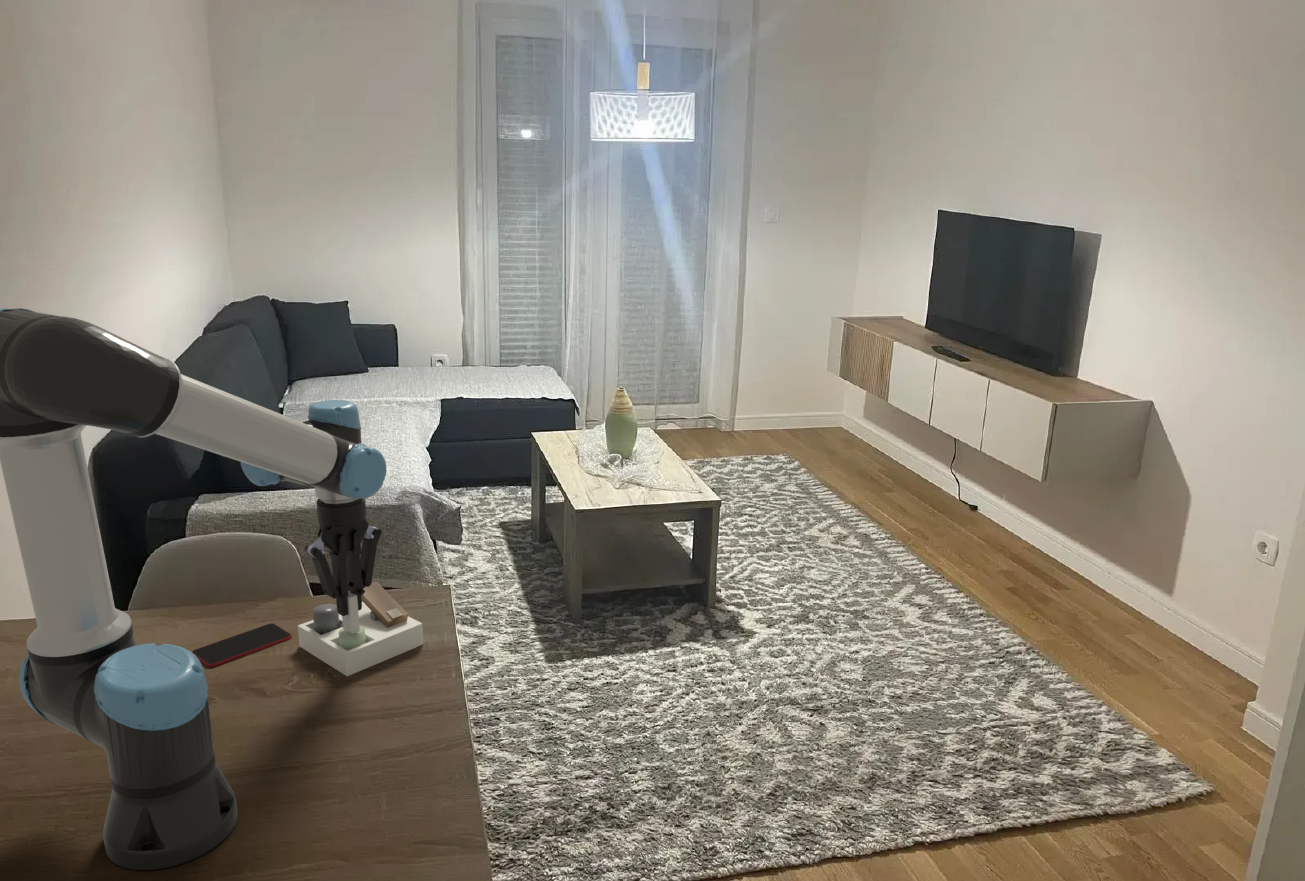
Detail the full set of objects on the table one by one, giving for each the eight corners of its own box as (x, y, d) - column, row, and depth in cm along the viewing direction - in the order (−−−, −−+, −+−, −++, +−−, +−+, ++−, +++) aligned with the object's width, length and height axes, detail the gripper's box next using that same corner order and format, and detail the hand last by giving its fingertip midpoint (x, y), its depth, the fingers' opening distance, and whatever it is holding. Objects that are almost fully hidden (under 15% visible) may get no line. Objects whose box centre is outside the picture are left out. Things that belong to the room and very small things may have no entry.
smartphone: (293, 635, 173) (209, 665, 162) (294, 639, 173) (210, 670, 163) (272, 622, 178) (189, 651, 167) (273, 626, 178) (190, 655, 167)
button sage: (349, 661, 162) (347, 640, 161) (335, 653, 165) (333, 631, 164) (371, 652, 165) (369, 631, 164) (357, 644, 168) (355, 623, 167)
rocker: (387, 627, 169) (388, 621, 168) (355, 594, 174) (356, 587, 173) (407, 620, 171) (408, 613, 171) (375, 587, 176) (376, 580, 176)
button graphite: (322, 637, 167) (320, 617, 166) (309, 630, 169) (307, 609, 168) (344, 629, 170) (343, 608, 169) (331, 621, 172) (329, 601, 171)
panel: (347, 676, 161) (344, 647, 159) (299, 646, 170) (297, 618, 169) (423, 644, 171) (421, 616, 170) (374, 617, 181) (372, 591, 179)
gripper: (315, 512, 150) (328, 651, 157) (389, 492, 159) (397, 624, 166) (290, 500, 155) (303, 636, 161) (363, 482, 164) (372, 610, 171)
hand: (351, 630), depth 164 cm, fingers closed
